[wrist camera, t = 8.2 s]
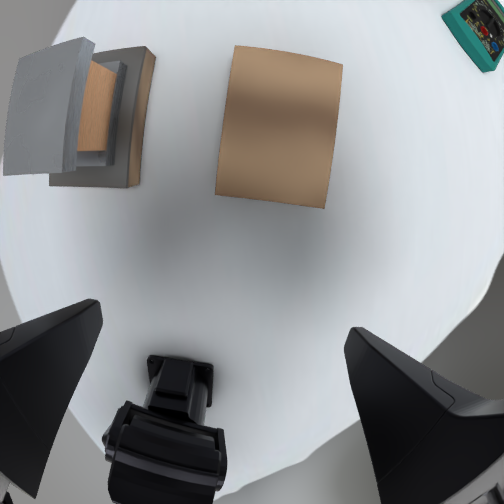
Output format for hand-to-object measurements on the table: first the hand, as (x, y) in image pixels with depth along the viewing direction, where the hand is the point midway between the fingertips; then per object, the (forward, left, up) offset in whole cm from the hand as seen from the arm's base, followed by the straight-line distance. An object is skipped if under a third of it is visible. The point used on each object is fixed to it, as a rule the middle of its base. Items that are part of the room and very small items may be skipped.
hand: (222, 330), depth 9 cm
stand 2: (+8, -2, -12) cm, 15 cm away
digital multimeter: (+28, -24, -13) cm, 39 cm away
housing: (+8, +11, -10) cm, 17 cm away
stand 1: (+8, +11, -12) cm, 18 cm away
